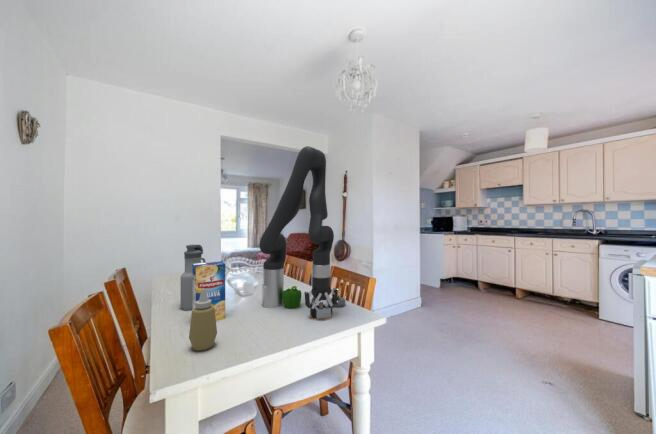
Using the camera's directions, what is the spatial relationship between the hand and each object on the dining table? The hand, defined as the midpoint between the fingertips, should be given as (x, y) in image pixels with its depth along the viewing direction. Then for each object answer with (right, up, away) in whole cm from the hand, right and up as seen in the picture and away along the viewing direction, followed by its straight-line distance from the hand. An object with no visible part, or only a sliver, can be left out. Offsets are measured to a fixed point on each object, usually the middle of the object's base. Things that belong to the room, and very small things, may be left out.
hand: (321, 315), depth 108 cm
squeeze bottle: (-37, -1, -24) cm, 44 cm away
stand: (0, -1, 0) cm, 1 cm away
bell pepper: (-14, -1, +12) cm, 18 cm away
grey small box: (0, 0, 0) cm, 0 cm away
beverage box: (-45, -1, -1) cm, 45 cm away
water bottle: (-58, -1, +12) cm, 60 cm away
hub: (+7, -1, +14) cm, 16 cm away
